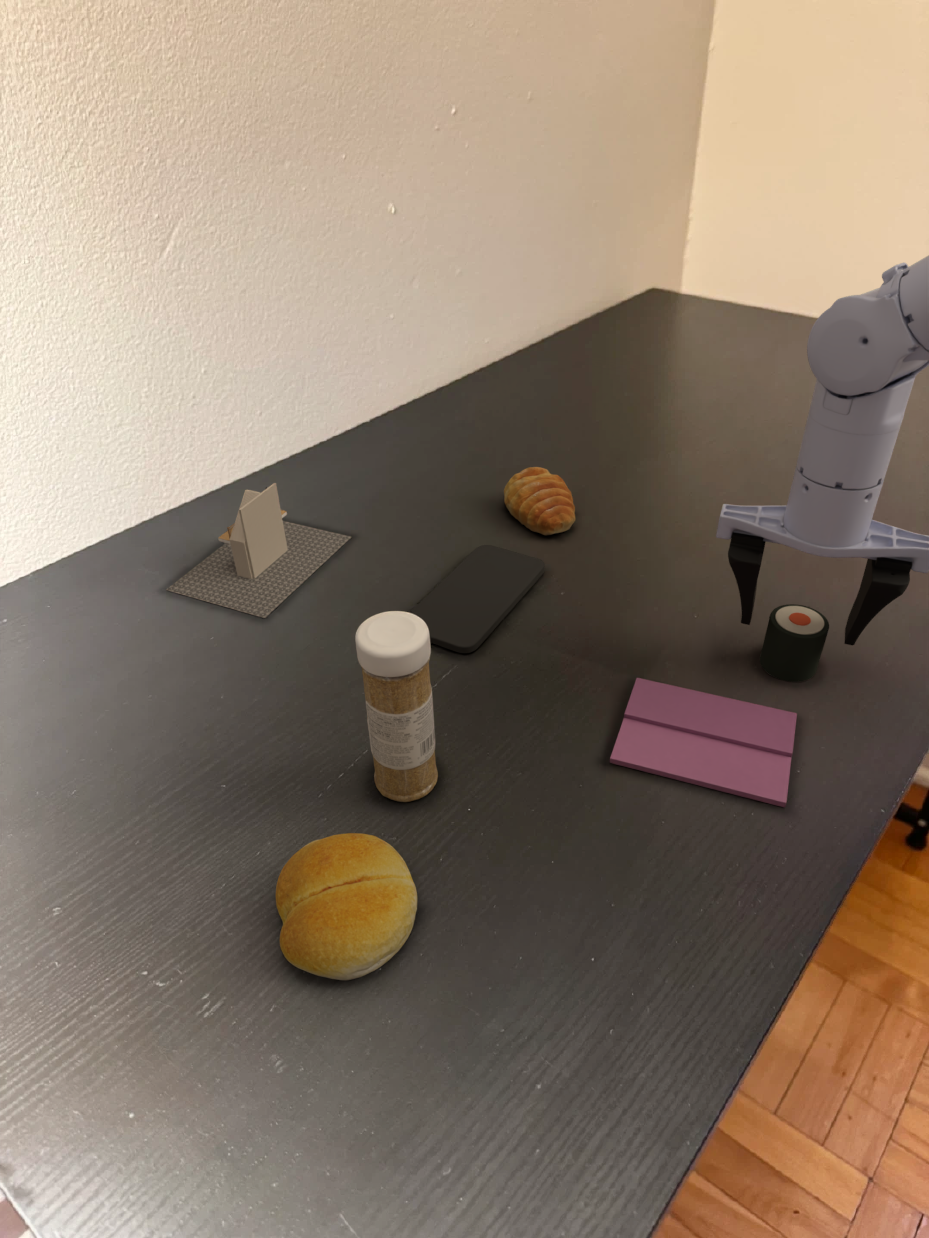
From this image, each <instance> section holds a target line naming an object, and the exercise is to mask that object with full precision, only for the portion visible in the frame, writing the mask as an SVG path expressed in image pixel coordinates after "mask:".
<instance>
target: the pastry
mask: <svg viewBox="0 0 929 1238" xmlns="http://www.w3.org/2000/svg"><path fill="white" fill-rule="evenodd" d="M572 495H573V494H572V491H571V490H570V489H569V488H568V486H567V484H566V482H565V480H564V479H563V478H562V477H561V476H560V475H558V474H553V473H550V471H549V470H548V469H547V468H544V467H539V466H533V467H531V466H530V467H527V468H526V467H525V468H524V469H522V470H521V471H520V472H518V473H515V474H514V475H512V476H511V478H509V481H508V482H506V484H505V486H504V489H503V496H504V499H503V501H504V505H505V507H506V509H507V510H508V511H509V514H510V515H511V516H512V517H513V518H514V519H516V520H517V521H518V522H519V523H520V524H521V525H524V526H525V528H527V529H529V531H532V532H534V533H539V534H541V535H543V536H552V535H554V534H559V533H563V532H566V531H568V530H570V529H571V527H572V525H573V524H574V523H575V522H576V514H575V512H576V506H575V504H574V497H573V496H572Z"/></svg>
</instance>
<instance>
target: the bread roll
mask: <svg viewBox="0 0 929 1238" xmlns="http://www.w3.org/2000/svg"><path fill="white" fill-rule="evenodd" d="M275 886H276V887H275V906H276V909H277V913H278V915H279V916H280V919H281V921H282V926H281V930H280V933H279V946H280V950H281V952H282V954H283V957H284V958H285V959H286V961H288V962H289V963H290V964H291V965H292V966H294V967H296V968H297V969H298V970H299V969H300V970H302V971H305V972H307V973H310V974H312V975H315V976H318V977H323V978H327V979H330V980H331V979H332V980H339V981H350V980H354V979H358V978H362V977H364V976H366V975H368V974H370V973H373V972H374V971H376V970H378V969H379V968H381V967H382V966H384V965H385V964H386V963H388V961H390V960H391V959H392V958H393V957H394V956H395V955H396V954H397V953H398V952H400V950H401V949H402V948H403V946H404V945H405V943H406V941H407V940H408V939H409V937H410V934H411V933H412V930H413V928H414V924H415V921H416V914H417V911H418V893H417V887H416V884H415V882H414V880H413V877H412V874H411V871H410V869H409V867H408V865H407V862H406V861H405V860H404V858H403V857H402V855H401V854H400V853H399V852H398V851H397V850H396V849H395V848H394V847H393V846H392V845H391V843H388V842H386V841H385V840H384V839H381V838H379V837H378V836H377V835H374V834H373V835H372V834H368V833H361V832H360V833H358V832H356V833H355V832H348V833H338V834H333V835H330V836H327V837H323V838H320V839H315V840H312V841H310V842H308V843H306V844H305V845H304V846H303V847H302V848H300V849H299V850H297V851H296V852H295V853H294V854H293V855H292V856H291V857H290V858H289V859H288V860H287V862H285V864H284V865H283V867H282V869H281V870H280V872H279V876H278V879H277V882H276V885H275Z"/></svg>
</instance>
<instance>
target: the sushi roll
mask: <svg viewBox="0 0 929 1238" xmlns="http://www.w3.org/2000/svg"><path fill="white" fill-rule="evenodd" d="M829 630H830V623H829V620H828V619H827V617H826V616H825V615H824V614H823V613H821V612H820V611H818V610H817V609H815V608H813V607H810V606H806V605H802V604H794V603H793V604H792V603H788V604H787V603H786V604H781V605H779V606H777V607H775V608H773V610H772V611H771V612H770V614H769V618H768V621H767V627H766V630H765V634H764V639H763V643H762V647H761V651H760V655H759V663H760V666H761V668H762V669H763V671H765V672H766V673H767V674H768V675H769V676H771V677H772V678H773V677H774V678H775V679H777V680H781V681H784V682H790V683H800V682H806V681H808V680H810V679H812V678H813V677H814V676H815V675H816V673H817V670H818V667H819V664H820V660H821V657H822V654H823V650H824V647H825V644H826V640H827V637H828V633H829Z"/></svg>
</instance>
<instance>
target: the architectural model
mask: <svg viewBox="0 0 929 1238" xmlns="http://www.w3.org/2000/svg"><path fill="white" fill-rule="evenodd" d="M277 486H278V485H277V483H276V482H273V483H272V484H270V485H269V486H268V487H267V486H266V487H265V488H264V490H263V491H261V492H260V491H256V490H251V489H245V490H244V493H243V496H242V499H241V501H240V505H239V507H238V511H237V514H236V518H235V522H234V523H233V524H232V525H229V526H227V527H226V530H227V531H225V532H224V533H223V534H221V535H220V536H218V539H217V540H218V542H221V543H224V544H222V545H221V546H220V547H219V548H217V549H216V550H215V551H213V552H212V553H211V554H210V555H208V556H207V557H206V558H205V559H203V560H202V561H201V562H200V563H198V564H197V565H195V566H194V567H193V568H191V570H189V571H188V572H187V573H185V574H184V575H183V576H182V577H180V578H179V579H177V580H176V582H174V583H172V585H170V586H169V587H167V588H166V589H165V591H168V592H171V593H176V594H179V595H183V596H186V597H189V598H192V599H197V600H200V601H204V602H207V603H211V604H213V605H217V606H220V607H221V606H222V607H224V608H228V609H232V610H235V611H238V612H242V613H246V614H249V615H252V616H256V617H259V618H263V619H266V618H267V617H268V616H269V615H271V613H273V611H274V610H275V609H276V608H277V607H279V606H280V605H281V604H282V603H283V602H284V601H285V600H286V599H287V598H288V597H289V596H290V595H291V594H292V593H294V592H295V591H296V590H297V589H298V588H299V587H300V586H301V585H302V584H303V583H304V582H305V581H307V580H308V579H309V578H310V577H311V576H312V575H313V574H314V573H315V572H316V571H317V570H319V568H321V566H322V565H324V564H325V563H326V562H327V561H328V560H329V559H330V558H331V557H332V556H333V555H335V553H336V552H338V551H339V549H341V548H342V547H343V546H344V545H345V544H346V543H347V542H348V541H349V540H350V539H351V538H352V536H351V535H345V534H342V533H337V532H334V531H333V532H332V531H328V530H324V529H321V528H315V527H311V526H307V525H303V524H299V523H294V522H290V521H285V520H283V518H285V517H286V516H287V515H288V513H287V510H284V509H282V508H281V504H280V498H279V492H278V487H277Z"/></svg>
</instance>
